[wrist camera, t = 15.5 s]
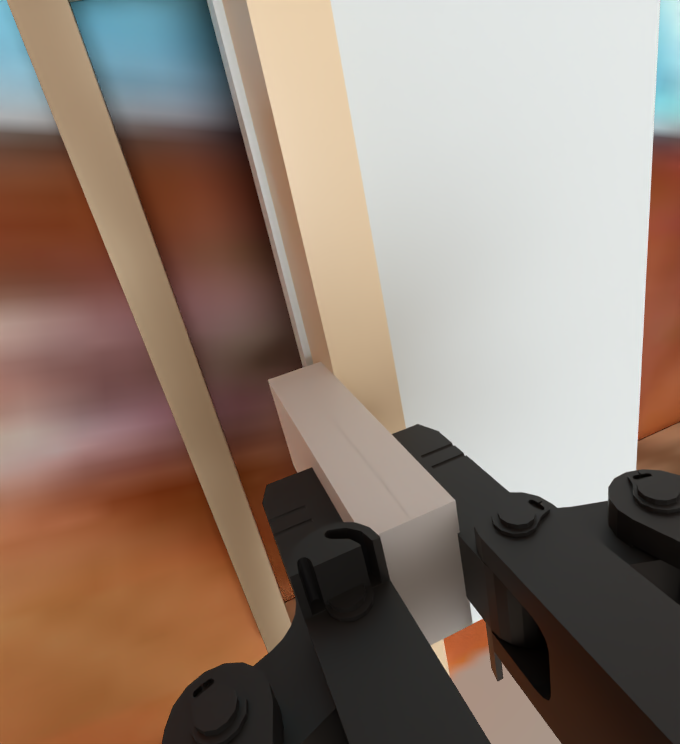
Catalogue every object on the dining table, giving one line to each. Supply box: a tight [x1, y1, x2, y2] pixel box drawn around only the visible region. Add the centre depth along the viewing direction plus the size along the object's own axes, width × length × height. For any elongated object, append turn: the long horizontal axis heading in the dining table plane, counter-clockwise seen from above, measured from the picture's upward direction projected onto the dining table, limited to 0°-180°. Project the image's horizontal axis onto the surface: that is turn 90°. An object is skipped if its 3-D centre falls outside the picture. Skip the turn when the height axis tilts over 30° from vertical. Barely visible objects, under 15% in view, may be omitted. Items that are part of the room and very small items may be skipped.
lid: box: [207, 0, 660, 676], centre depth 15 cm, size 12×24×3 cm, turn 13°
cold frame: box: [7, 0, 680, 653], centre depth 19 cm, size 26×24×3 cm
